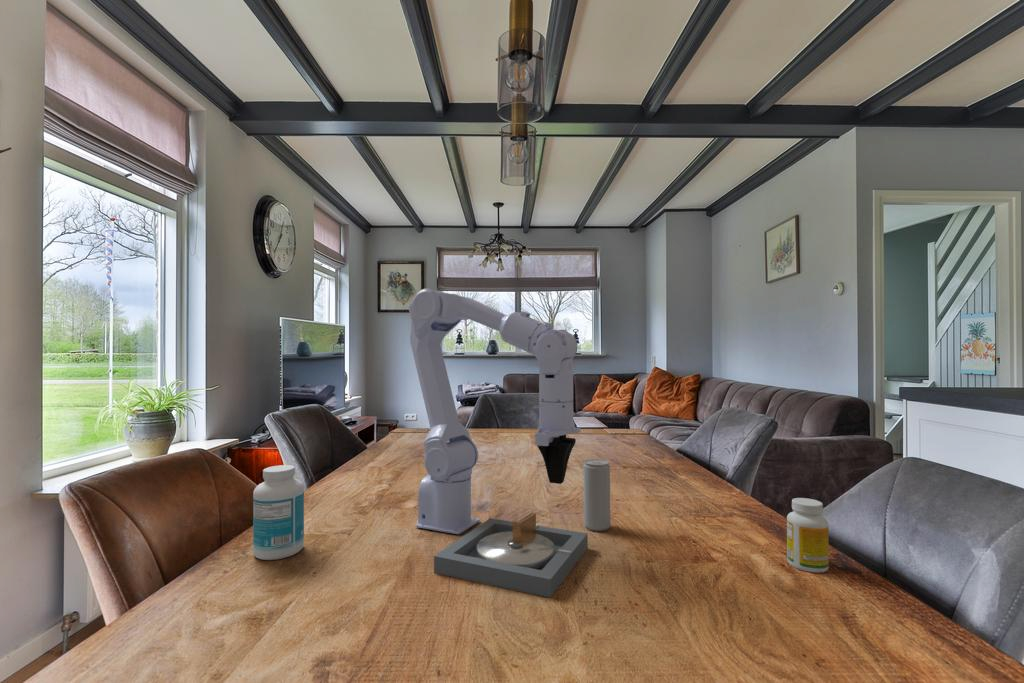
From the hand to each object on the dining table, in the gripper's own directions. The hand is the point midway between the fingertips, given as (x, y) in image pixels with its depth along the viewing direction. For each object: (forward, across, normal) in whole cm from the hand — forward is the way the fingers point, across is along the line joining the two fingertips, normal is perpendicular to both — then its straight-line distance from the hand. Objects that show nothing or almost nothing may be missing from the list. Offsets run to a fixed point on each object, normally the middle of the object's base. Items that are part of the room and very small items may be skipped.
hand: (556, 482), depth 81 cm
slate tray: (+10, -8, +4) cm, 14 cm away
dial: (+10, -8, +4) cm, 14 cm away
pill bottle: (+11, -21, +40) cm, 46 cm away
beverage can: (+11, +11, -4) cm, 16 cm away
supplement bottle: (+11, +8, -37) cm, 39 cm away
